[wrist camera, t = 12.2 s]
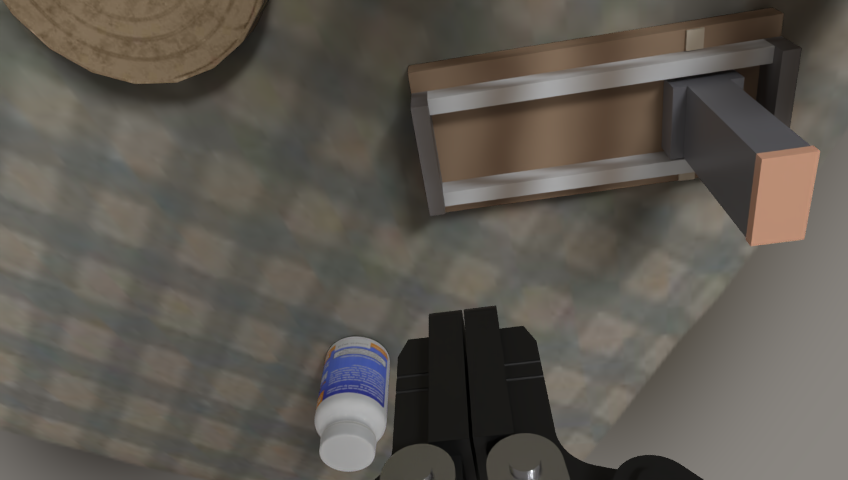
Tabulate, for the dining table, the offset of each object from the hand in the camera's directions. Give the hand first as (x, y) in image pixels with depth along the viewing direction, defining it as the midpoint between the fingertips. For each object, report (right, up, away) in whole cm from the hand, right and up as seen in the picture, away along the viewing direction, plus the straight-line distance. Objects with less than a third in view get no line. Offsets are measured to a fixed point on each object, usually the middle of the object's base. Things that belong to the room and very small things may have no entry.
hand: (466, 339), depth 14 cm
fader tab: (+16, +10, +26) cm, 32 cm away
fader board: (+10, +10, +28) cm, 31 cm away
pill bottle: (-6, -8, +39) cm, 41 cm away
